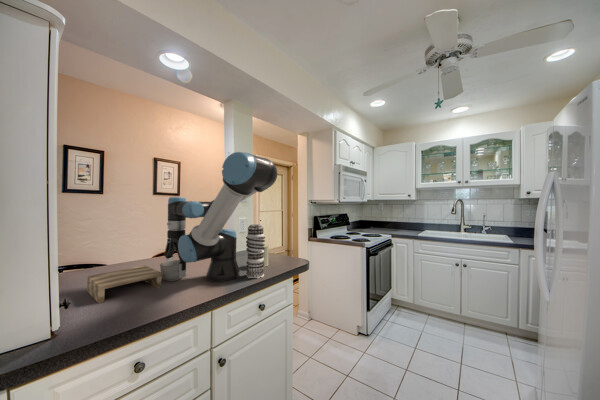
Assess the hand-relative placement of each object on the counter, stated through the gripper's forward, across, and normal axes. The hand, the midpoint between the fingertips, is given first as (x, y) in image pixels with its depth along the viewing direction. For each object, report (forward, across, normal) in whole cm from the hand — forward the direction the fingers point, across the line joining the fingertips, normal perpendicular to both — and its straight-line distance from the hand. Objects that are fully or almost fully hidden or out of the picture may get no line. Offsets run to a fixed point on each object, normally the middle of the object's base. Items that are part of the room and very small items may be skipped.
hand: (175, 274), depth 105 cm
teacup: (+2, 0, 0) cm, 2 cm away
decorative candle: (+2, +28, +25) cm, 37 cm away
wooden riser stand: (+2, -2, -19) cm, 19 cm away
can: (+2, +16, +39) cm, 42 cm away
